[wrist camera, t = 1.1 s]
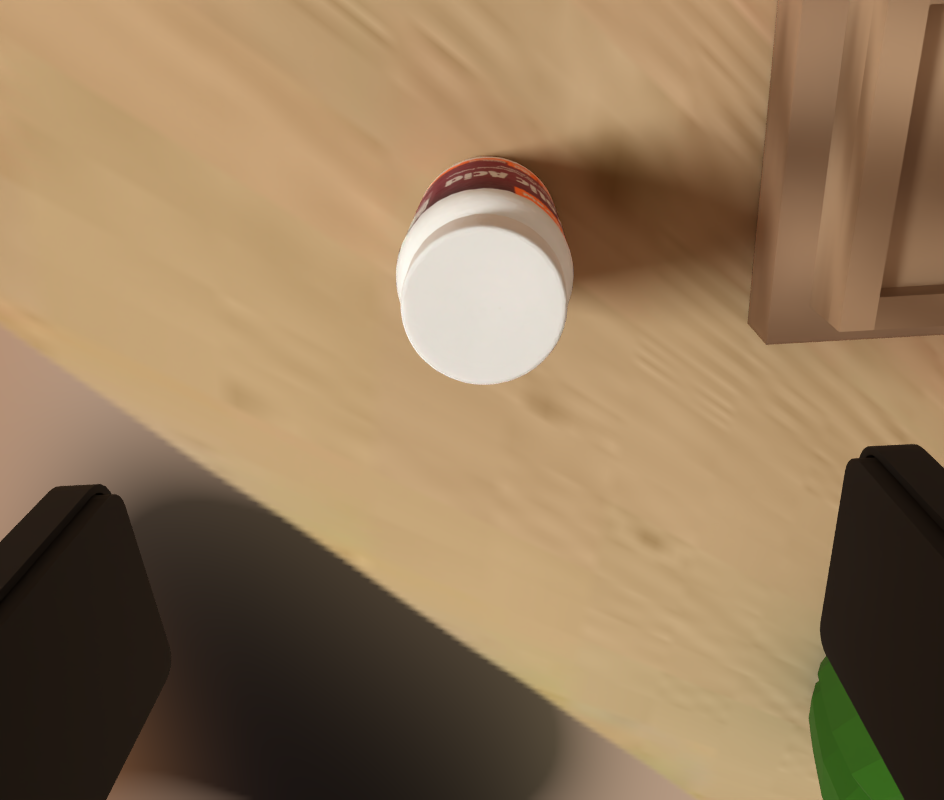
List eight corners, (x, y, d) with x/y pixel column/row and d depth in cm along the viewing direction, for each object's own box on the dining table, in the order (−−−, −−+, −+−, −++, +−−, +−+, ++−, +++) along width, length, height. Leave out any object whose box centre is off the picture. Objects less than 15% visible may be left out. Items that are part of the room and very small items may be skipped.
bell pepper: (739, 685, 35) (826, 916, 26) (879, 568, 31) (1035, 784, 23) (867, 762, 37) (990, 1001, 28) (1011, 658, 34) (1202, 889, 25)
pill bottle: (576, 177, 25) (615, 243, 17) (530, 310, 27) (546, 421, 19) (436, 134, 24) (412, 181, 17) (400, 272, 26) (364, 371, 19)
